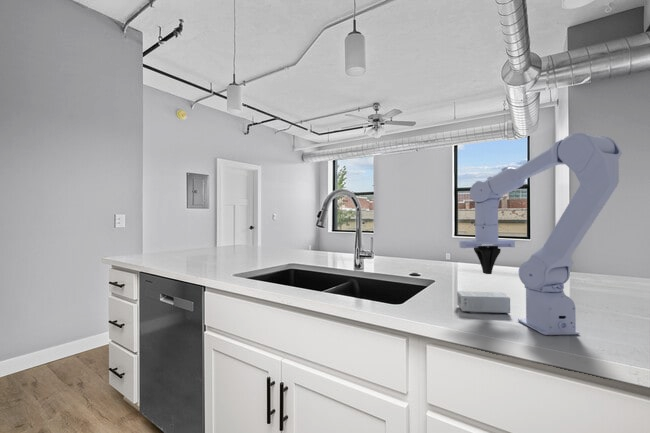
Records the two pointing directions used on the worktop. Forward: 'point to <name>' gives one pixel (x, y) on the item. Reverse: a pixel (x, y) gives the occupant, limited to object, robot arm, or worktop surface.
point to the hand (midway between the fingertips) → (487, 273)
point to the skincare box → (483, 301)
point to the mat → (481, 312)
